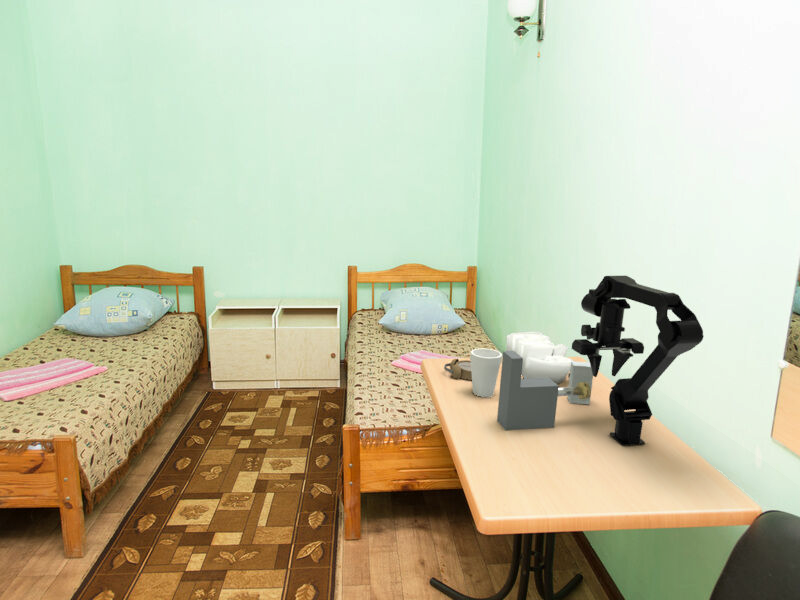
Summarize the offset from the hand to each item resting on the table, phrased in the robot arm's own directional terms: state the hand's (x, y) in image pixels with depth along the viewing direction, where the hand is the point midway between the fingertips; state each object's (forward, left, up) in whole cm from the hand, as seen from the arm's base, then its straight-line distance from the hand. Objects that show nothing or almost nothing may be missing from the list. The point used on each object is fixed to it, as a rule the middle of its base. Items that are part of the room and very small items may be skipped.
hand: (604, 376), depth 156 cm
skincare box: (+13, -1, -13) cm, 19 cm away
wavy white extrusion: (+42, -1, -13) cm, 44 cm away
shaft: (0, +11, -6) cm, 13 cm away
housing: (0, +22, -13) cm, 26 cm away
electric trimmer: (+26, -9, -14) cm, 31 cm away
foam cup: (+22, +26, -13) cm, 37 cm away
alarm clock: (+38, +26, -14) cm, 48 cm away
